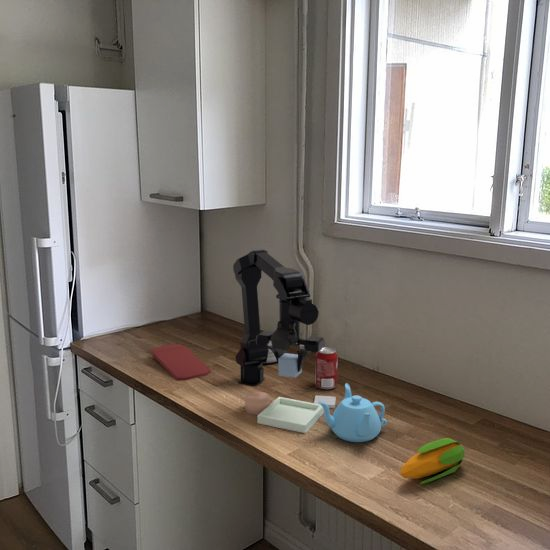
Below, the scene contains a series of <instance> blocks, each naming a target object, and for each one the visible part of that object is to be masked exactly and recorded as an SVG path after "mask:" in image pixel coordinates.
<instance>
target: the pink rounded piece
mask: <svg viewBox="0 0 550 550" xmlns="http://www.w3.org/2000/svg"><path fill="white" fill-rule="evenodd" d="M270 402H271V401H270V394H268V393H267V392H264V391H253V392H252V391H251V392H248V393H247V394H245V396H244V410H245V412H246V413H247V414H249V415H257V416H258V415H259V414H260V413H261V412H262V411H263V410H264V409H266V408H267V407H268V406H269V405H270V404H271V403H270Z"/></svg>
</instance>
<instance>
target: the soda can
mask: <svg viewBox="0 0 550 550" xmlns="http://www.w3.org/2000/svg"><path fill="white" fill-rule="evenodd" d="M338 360H339V356H338V353H337V350H336V348H334V347H330V346H329V347H328V346H325V347H323V348H322V349H321V350H320V351H319V352H316V354H315V374H314V375H315V377H314V378H315V379H314V381H315V386H316V387H317V388H319V389H320V390H325V391H326V390H327V391H328V390H329V391H330V390H333V389H335V388H337V386H338V362H339V361H338Z"/></svg>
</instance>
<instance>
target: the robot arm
mask: <svg viewBox="0 0 550 550" xmlns="http://www.w3.org/2000/svg"><path fill="white" fill-rule="evenodd" d="M232 269H233V273H234V276H235V277H234V278H235V280H236V282H237V283H238V284H239V286H240V287H241V298H242V301H241V302H242V313H243V324H244V334H243V336H242V338H241V340H240V349H239V350H238V352H237V353H236V354H235V362H236V364H237V365H238V366H240V379H239V380H238V381H237V382H238V384H244V385H250V386H255V387H256V386H258V385H259V384H261V383H262V382H263V381H265V379H266V378H265V374H264V370H265V369H264V366H263V364H267V363H266V362H267V357H268V352H269V350H268V349H270V350H271V351H272V352H273V353H274V355H275V357H276V360H277V361H276V363H278V358H280V357H281V356H282V355H284V354H285V353H284V351H289V349H290V347H291V346H299V348H298V349H297V350H296V354H297V355H298V366H297V368H298V372H300V371H301V368H302V369H303V365H304V363H305V360H306V358H307V356H308V354H309V353H311V352H314V353H317V352H319V351H320V350H321V349H322V348H323V347H326V345H325V344H326V342H325V339H324V337H323V336H315V335H310V336H309V337H307V338H302V336H303V333H302V332H301V324H303V325H306V326H311V325H312V324H314V323H316V321H317V319H318V317H319V315H320V314H319V313H320V312H319V310H318V307H317V306H316V304H314V303H313V299H312V298H311V293H310V289H309V287H308V284H307V283H306V280H305V277H304V276H303V273H302V272H300V271H299V270H297V269H295V268H290V267H286V266H284V265H283V264H282V263H281V262H279V261H278V260H277V259H275V258H274V257H273V256H272V255H271V254H269V252H268V251H267V250H266V249H256V250H251V251H249V253H247V254H245V255H243V256H242V257H240V258H237V259H236V260H235V262H234V264H233V268H232ZM262 273H264V274H265V275H267V277H269V278H270V279H271V280H272V282H273V283H272V286H273V288H274V289H275V290H276V292H277V294H276V295H275V298H276V299H279V300H278V302H279V303H278V305H279V306H278V308H279V309H278V310H279V311H278V312H279V313H278V315H279V320H278V321H277V324H276V325H277V327H276V330H274V331H271V330H263V331H261V324H260V323H261V321H260V309H259V308H260V307H259V295H258V285H259V283H260V282H261V279H262V277H263V275H262Z"/></svg>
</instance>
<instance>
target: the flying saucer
mask: <svg viewBox="0 0 550 550" xmlns="http://www.w3.org/2000/svg"><path fill="white" fill-rule="evenodd" d="M268 350H269V352H268V357H267V362H266V363H265V364H272V363H277V360H276V357H275V355H274V353H273V352H272V351H271V350H270V349H268Z"/></svg>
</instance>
